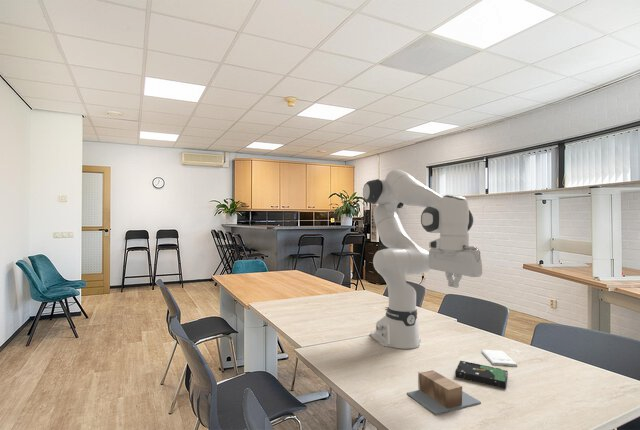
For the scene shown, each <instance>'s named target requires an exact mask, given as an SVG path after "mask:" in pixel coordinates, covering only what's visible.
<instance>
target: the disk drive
mask: <svg viewBox="0 0 640 430" xmlns="http://www.w3.org/2000/svg"><path fill="white" fill-rule="evenodd" d="M454 372H455V373H454V378H457V379H460V380H464V381H465V380H466V381H469V382H474V383H479V384H482V385H487V386H491V387H495V388H500V389H504V390H506V389H507V385H508V384H507V383H508V375H509V374H508V372H509V371H508V370H505V369H502V368H499V367H493V366H489V365H483V364H479V363H474V362H469V361H465V360H460V361H459V362H458V365H457V367H456V368H455V370H454Z"/></svg>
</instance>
